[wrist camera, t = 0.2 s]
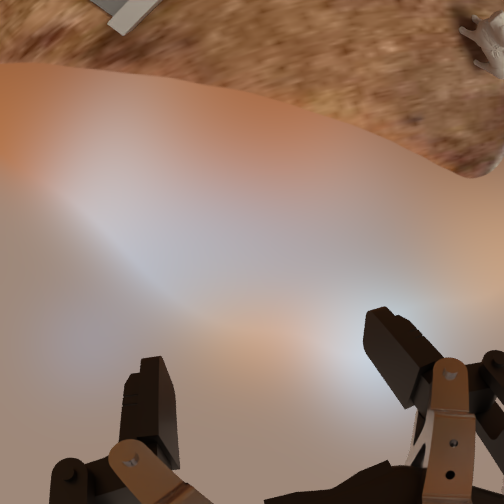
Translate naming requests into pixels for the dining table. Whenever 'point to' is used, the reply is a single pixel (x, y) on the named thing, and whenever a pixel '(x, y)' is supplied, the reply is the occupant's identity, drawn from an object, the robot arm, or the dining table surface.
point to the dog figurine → (489, 42)
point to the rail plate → (126, 12)
